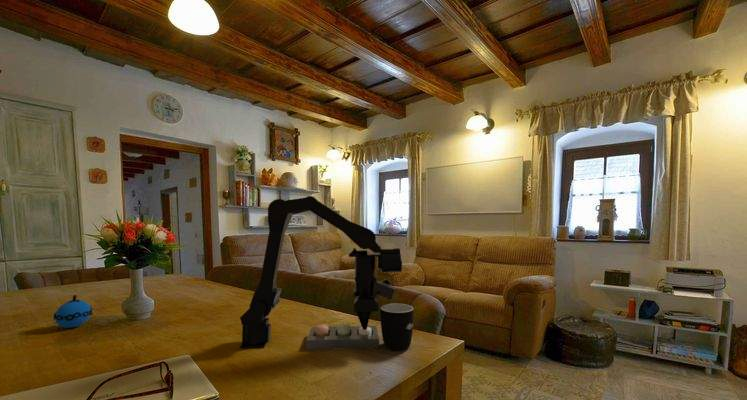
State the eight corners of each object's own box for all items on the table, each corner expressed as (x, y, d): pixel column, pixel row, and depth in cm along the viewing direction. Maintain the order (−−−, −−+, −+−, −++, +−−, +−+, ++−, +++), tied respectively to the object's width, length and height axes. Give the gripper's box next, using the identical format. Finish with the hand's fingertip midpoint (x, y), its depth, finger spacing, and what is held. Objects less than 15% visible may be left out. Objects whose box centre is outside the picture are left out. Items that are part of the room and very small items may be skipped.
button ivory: (358, 341, 85) (358, 331, 85) (358, 337, 88) (358, 326, 88) (371, 341, 85) (371, 331, 85) (371, 336, 88) (371, 326, 89)
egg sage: (336, 338, 84) (336, 328, 84) (337, 334, 88) (337, 324, 88) (349, 338, 85) (350, 327, 85) (350, 333, 88) (350, 323, 88)
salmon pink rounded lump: (314, 339, 84) (314, 328, 84) (316, 334, 88) (316, 324, 88) (327, 339, 84) (327, 328, 84) (328, 334, 88) (329, 324, 88)
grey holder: (379, 348, 82) (379, 338, 82) (306, 349, 80) (306, 340, 80) (376, 334, 92) (376, 325, 92) (311, 335, 91) (311, 327, 91)
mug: (409, 355, 77) (409, 313, 78) (375, 350, 80) (375, 310, 81) (419, 338, 88) (418, 302, 89) (388, 335, 91) (388, 299, 92)
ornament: (88, 328, 97) (90, 296, 97) (49, 334, 92) (51, 299, 93) (92, 321, 104) (95, 291, 104) (57, 326, 99) (59, 294, 100)
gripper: (397, 278, 79) (398, 341, 78) (389, 267, 98) (389, 318, 96) (354, 278, 78) (353, 341, 77) (354, 268, 97) (353, 319, 96)
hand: (364, 329), depth 87 cm, fingers closed, pressing on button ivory
